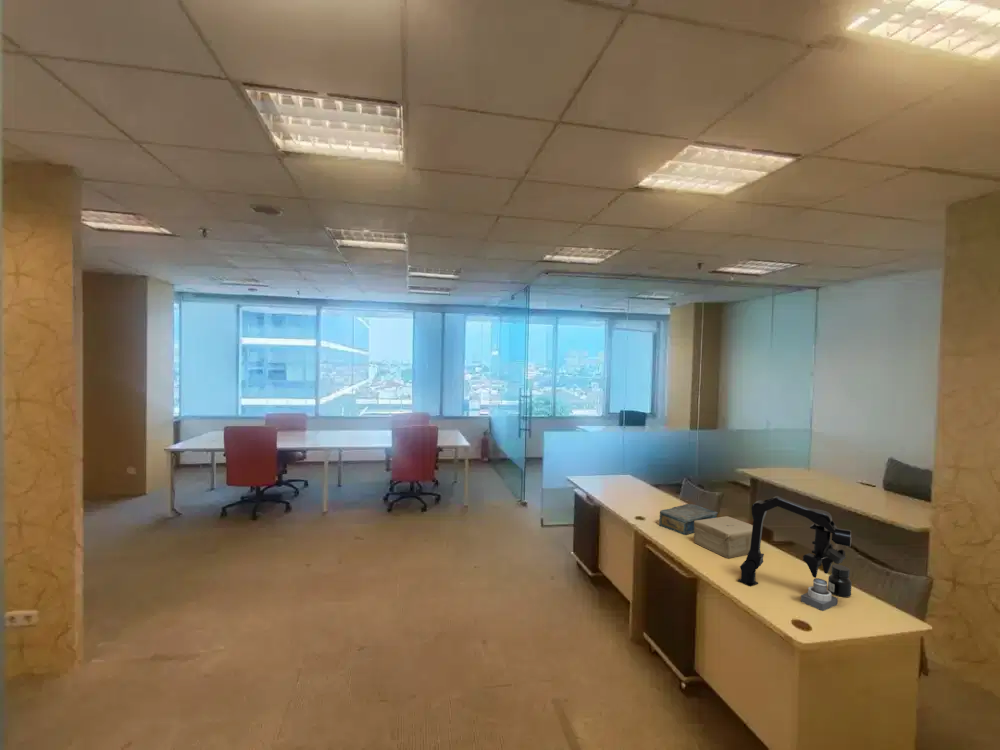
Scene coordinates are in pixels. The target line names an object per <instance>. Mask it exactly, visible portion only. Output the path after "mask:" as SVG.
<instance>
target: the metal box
mask: <svg viewBox="0 0 1000 750" xmlns="http://www.w3.org/2000/svg"><path fill="white" fill-rule="evenodd" d="M718 514H719V512H717V511H715V510H712V509H708V508H705V507H702V506H700V505H697V504H694V503H685V504H683V505H678V506H674V507H671V508H670V507H669V508H667V509H666V508H665V509H660V511H659V520H658V523H659V526H660V527H662V528H664V529H667V530H671V531H674V532H676V533H678V534H681V535H683V536H689V535H692V534H694V521H696V520H703V519H711V518H717V517H718Z"/></svg>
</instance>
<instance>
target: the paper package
mask: <svg viewBox="0 0 1000 750" xmlns="http://www.w3.org/2000/svg"><path fill="white" fill-rule="evenodd" d="M752 528H753V524H750V523H748V522H745V521H743V520H739V519H736V518H734V517H731V516H728V515H726V516H720V517H719V516H717V518H711V519H703V520H696V521H694V533H693V538H694V543H695V544H696V545H699V546H700V547H703V548H705V549H707V550H710V551H711V552H713V553H715V554H717V555H720V556H722V557H723V558H727V559H731V558H736V557H742V556H747V555H748V553H749V551H750V546H751V537H752Z"/></svg>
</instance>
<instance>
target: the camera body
mask: <svg viewBox="0 0 1000 750" xmlns="http://www.w3.org/2000/svg"><path fill="white" fill-rule="evenodd" d="M807 589H808V590H807V592H806V593H803V594H801V595H800V602H801V603H803V604H806V605H807V606H810V607H812V608H814V609H817V610H819V611H822V612H823V611H826V610H829V609H831V608H834V607H835V606H837V605H838V599H839V598H838V597H836V596H834V595H833V594H832V593H831V592H830V591H828V589H827V593H826V595H823V594H818V593H816V592H813V585H812V586H808V588H807Z"/></svg>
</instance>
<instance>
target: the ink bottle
mask: <svg viewBox="0 0 1000 750" xmlns="http://www.w3.org/2000/svg"><path fill="white" fill-rule="evenodd" d="M850 570H851V569H850V568H849V567H847V566H845V565H842V564H836V563H834V564H831V574H830V575H829V576H828V577H827V578H828V581H827V590H828V591H830V592H831V594H832V595H833V596H834V595H835V596H837V597H842V598H850V597H851V595H852V586H853V585H852V584H853V582H852V581H851V579H850Z"/></svg>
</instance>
